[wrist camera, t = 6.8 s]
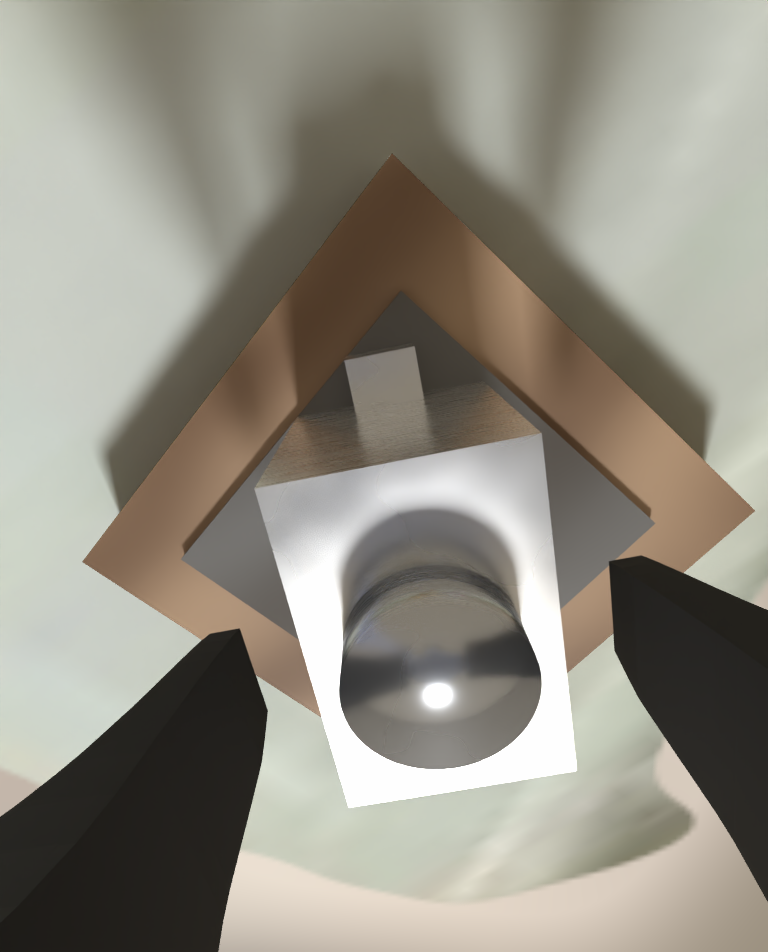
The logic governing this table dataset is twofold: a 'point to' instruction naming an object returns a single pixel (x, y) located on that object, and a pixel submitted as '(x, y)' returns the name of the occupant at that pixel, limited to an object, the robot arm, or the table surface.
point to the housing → (423, 583)
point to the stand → (440, 365)
